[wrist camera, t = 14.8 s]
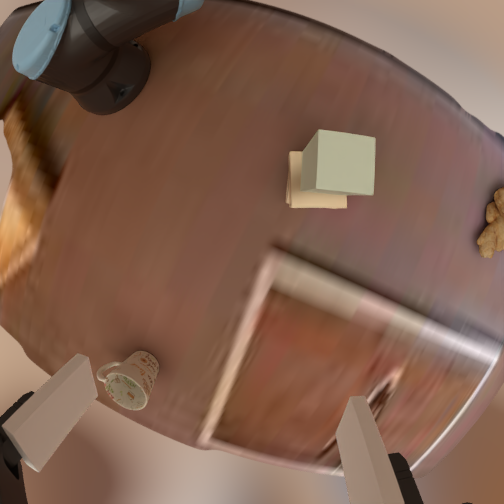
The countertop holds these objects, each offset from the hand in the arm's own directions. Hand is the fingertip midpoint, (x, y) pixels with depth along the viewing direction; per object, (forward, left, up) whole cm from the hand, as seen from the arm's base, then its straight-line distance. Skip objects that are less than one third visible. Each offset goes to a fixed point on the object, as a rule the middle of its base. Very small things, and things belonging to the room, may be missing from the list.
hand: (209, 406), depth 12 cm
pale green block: (-13, +8, -25) cm, 29 cm away
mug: (+24, -21, -33) cm, 46 cm away
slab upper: (-12, +8, -29) cm, 32 cm away
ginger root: (-13, +48, -33) cm, 60 cm away
